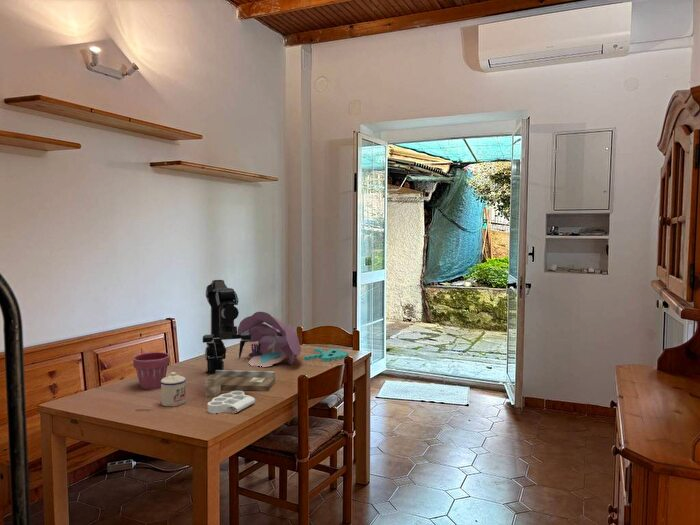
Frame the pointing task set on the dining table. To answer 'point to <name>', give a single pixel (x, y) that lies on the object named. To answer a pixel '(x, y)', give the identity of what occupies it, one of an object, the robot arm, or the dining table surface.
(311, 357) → the alien figure
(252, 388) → the walnut board
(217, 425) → the dining table surface
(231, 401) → the white muffin tray
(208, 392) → the block
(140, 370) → the plant pot
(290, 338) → the mauve curved piece
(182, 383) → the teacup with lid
